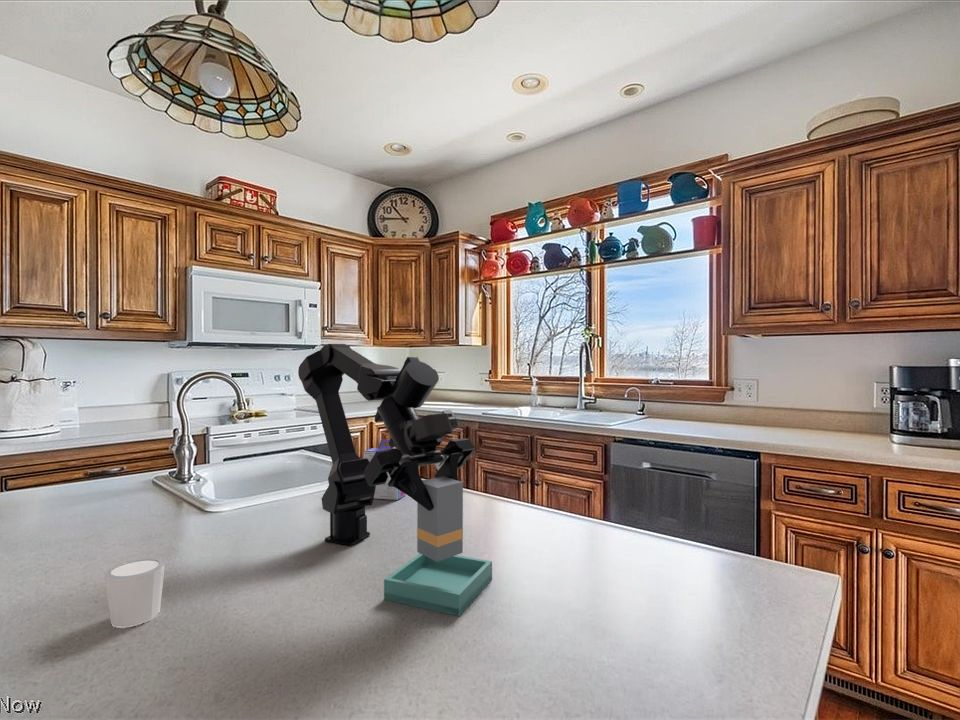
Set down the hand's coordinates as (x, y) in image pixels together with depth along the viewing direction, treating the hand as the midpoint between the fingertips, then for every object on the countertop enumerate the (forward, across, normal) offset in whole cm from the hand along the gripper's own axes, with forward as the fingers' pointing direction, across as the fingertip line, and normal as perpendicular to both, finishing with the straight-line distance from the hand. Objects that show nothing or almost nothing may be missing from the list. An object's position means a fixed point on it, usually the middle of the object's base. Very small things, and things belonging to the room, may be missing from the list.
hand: (445, 505), depth 76 cm
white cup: (-7, -36, +26) cm, 45 cm away
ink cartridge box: (-26, +22, +46) cm, 57 cm away
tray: (+8, 0, +10) cm, 13 cm away
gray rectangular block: (+4, 0, +6) cm, 8 cm away
